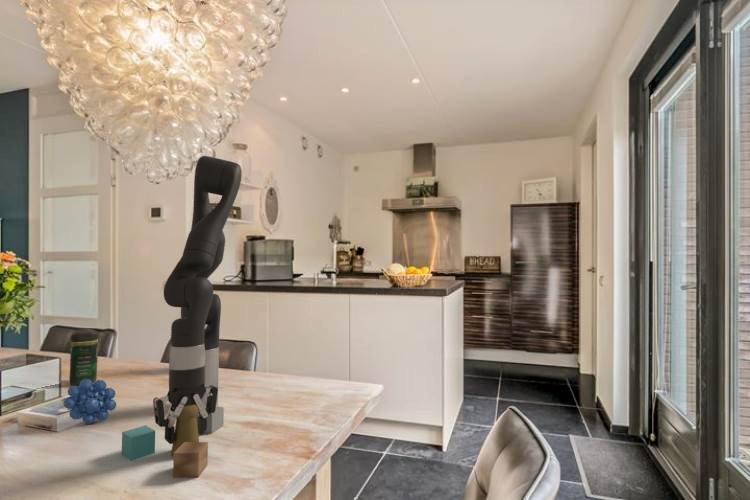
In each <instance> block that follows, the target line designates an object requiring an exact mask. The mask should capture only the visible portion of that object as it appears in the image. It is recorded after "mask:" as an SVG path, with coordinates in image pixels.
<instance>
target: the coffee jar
mask: <svg viewBox="0 0 750 500" xmlns="http://www.w3.org/2000/svg"><path fill="white" fill-rule="evenodd" d="M98 347H99V332H98V331H97V330H95V329H93V328H83V329H82V328H81V329H78V330H76V331H74V332H73V333H72V334H71V335H70V354H69V355H70V356H69V358H70V360H69V361H70V363H69V385H71V386H79V384H80V382H81V381H82V380H84V379H90V380H91V381H92V382H93V384H94V382H95V381H97V380H98V379H97V376H98V374H97V373H98V354H99V353H98V351H99V348H98ZM79 387H80V386H79Z"/></svg>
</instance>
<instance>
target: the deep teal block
mask: <svg viewBox="0 0 750 500" xmlns="http://www.w3.org/2000/svg"><path fill="white" fill-rule="evenodd" d="M155 453H156V430H154V429H152V428H151V427H150V426H148V425H141V426H138V427H136V428H132V429H128V430H125V431H121V455H122V456H124V457H125V458H126V459H127V460H129V461H130V462H133V461H135V460H138V459H141V458H144V457H146V456H149V455H152V454H155Z"/></svg>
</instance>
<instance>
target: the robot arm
mask: <svg viewBox="0 0 750 500" xmlns="http://www.w3.org/2000/svg"><path fill="white" fill-rule="evenodd" d="M242 173H243V172H242V167H241V165H240V164H239V163H237V162H234V161H230V160H225V159H222V158H217V157H212V156H207V155H202V156H200V157H199V158H198V160H197V162H196V165H195V170H194V178H193V179H194V181H193V182H194V183H193V209H192V210H193V212H192V220H191V228H190V231H189V233H188V236H187V238H186V241H185V244H184V249H183V251H182V256H181V257H180V258H179V260H178V262H177V264H176V265H175V266H174V268H173V270H172V271H171V273H170V275H169V276H168V278H167V279H166V281H165V283H164V287H163V298H164V302H165V303H166V304H167V305H168V306H170V307H171V308H172V307H173V308H180V318H176V319H175V320H173V321H172V323H171V326H170V327H171V329H170V330H171V331H170V332H171V333H170V349H169V356H168V359H169V360H168V361H169V363H168V392H167V394H166V395H164V396H161V397H157V396H156V397H154V398H153V399H152V403H153V412H154V413H153V414H154V423H155V425H158V426H159V427H160V428H164V440H165V442H167V443H168V444H169V445H173V443H174V432H175V426H174V425H175V424H176V420H177V417H179V415H180V413H181V411H182V409H183V407H184V406H186V405H189V404H196V405H197V406H198V408H199V412H198V414H199V417H198V435H200V436H201V435H204V434H205V433H204V431H206V429H207V416H208V415H209V414H211V413H214V412H215V409H216V407H217V406H218V404H219V373H220V372H219V369H220V368H219V366H220V365H219V363H220V361H219V359H220V358H219V357H220V356H219V354H220V329H221V328H220V326H221V315H222V313H221V312H222V303H221V298H220V296H219V294H217V293H214V288H213V285H212V283H211V281H210V280H209V279H208V278H210V276H211V275H213V273H215V272H216V270H217V269H218V267H219V266H220V265H221V263H222V262H223V259H224V253H225V247H226V236H225V233H224V231H223V230H224V228H225V225H226V222H227V220H228V219H229V216H230V213H231V211H232V209H233V206H234V204H235V200H236V198H237V195H238V193H239V191H240V190H239V189H240V187H241V182H242V175H243V174H242ZM209 194H213V195H218V196H221V198H220V200H219V201H218V203H217V204H216V206H215V207H214V208H213V209H212V207H211V203H210V195H209ZM205 325H207V327H206V329H205ZM167 402H168V403H170V406H169V408H168V410H167V415H166V417H165V407H166V406H167ZM205 406H206V408H205ZM174 409H175V411H174Z"/></svg>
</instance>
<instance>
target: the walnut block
mask: <svg viewBox="0 0 750 500" xmlns="http://www.w3.org/2000/svg"><path fill="white" fill-rule="evenodd" d="M208 447H209V441H199V442H184V443H183V444H182V445H181V446H180V447H179V448H178V449H177V450H176V451H175V452H174V457H172V458H173V465H172V466H173V467H172V470H173V471H172V477H173V478H174V479H175V478H176V479H178V478H179V479H182V478H183V479H184V478H185V479H186V478H189V479H190V478H192V479H193V478H194V479H195V478H199V477H200V476H201V475H202V473H203V472H204V471H205V470H206V468H207V467H208V465H209V464H208V462H209V461H208V460H209V459H208V457H209V456H208V455H209V454H208V453H209V448H208Z"/></svg>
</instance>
